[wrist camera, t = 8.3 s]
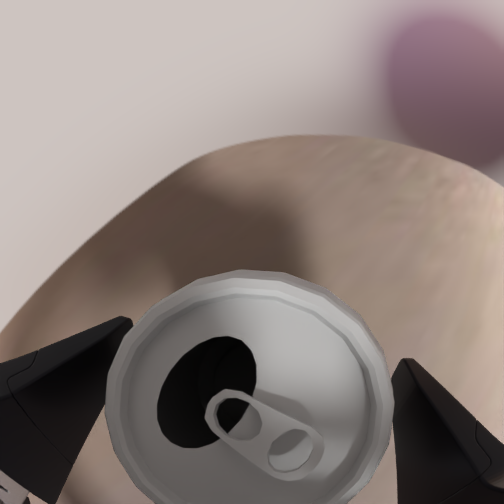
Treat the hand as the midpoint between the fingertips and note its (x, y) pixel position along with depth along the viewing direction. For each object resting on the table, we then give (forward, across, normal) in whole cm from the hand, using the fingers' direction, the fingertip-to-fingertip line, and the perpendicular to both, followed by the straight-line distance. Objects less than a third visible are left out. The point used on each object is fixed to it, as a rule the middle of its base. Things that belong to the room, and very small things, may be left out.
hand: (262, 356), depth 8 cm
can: (+5, 0, +7) cm, 9 cm away
